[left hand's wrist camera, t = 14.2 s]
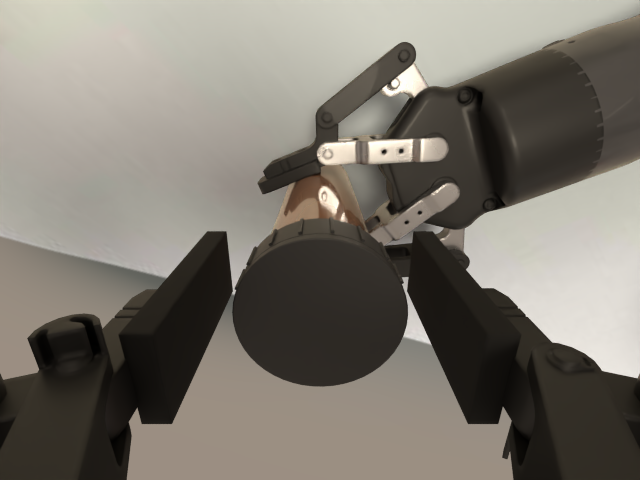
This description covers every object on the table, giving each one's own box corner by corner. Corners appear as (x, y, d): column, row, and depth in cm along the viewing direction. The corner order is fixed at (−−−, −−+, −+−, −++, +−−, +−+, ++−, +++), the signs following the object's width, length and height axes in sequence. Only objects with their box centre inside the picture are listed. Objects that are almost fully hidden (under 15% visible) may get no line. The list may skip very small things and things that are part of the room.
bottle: (329, 223, 28) (343, 384, 12) (280, 195, 27) (225, 329, 11) (360, 175, 27) (420, 286, 11) (309, 144, 26) (292, 215, 10)
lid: (428, 259, 12) (446, 285, 10) (349, 372, 13) (353, 410, 12) (283, 186, 11) (277, 202, 9) (219, 318, 13) (204, 350, 11)
